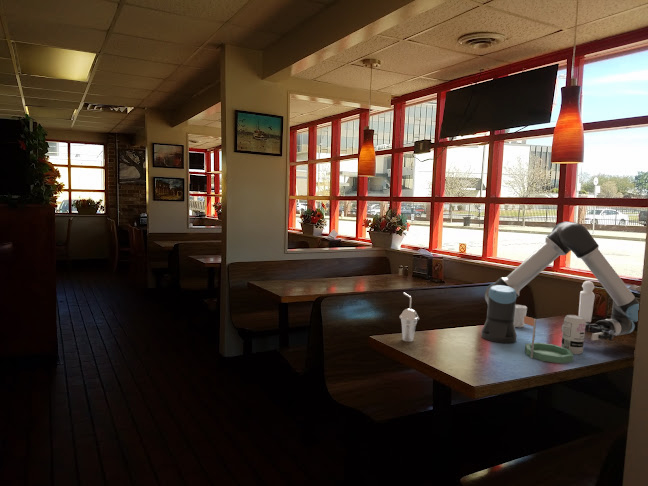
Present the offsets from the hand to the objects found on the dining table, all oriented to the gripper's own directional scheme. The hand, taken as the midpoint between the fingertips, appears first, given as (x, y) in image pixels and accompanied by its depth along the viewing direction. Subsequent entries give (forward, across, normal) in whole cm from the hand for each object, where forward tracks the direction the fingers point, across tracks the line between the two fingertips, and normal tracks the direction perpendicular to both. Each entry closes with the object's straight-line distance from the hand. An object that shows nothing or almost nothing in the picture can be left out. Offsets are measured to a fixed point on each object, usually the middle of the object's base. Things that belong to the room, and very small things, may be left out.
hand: (576, 332), depth 198 cm
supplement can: (+1, +1, -8) cm, 9 cm away
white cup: (-10, +38, -9) cm, 41 cm away
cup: (+16, +1, -8) cm, 18 cm away
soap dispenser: (-57, +33, -8) cm, 67 cm away
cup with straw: (+60, +37, -9) cm, 71 cm away
